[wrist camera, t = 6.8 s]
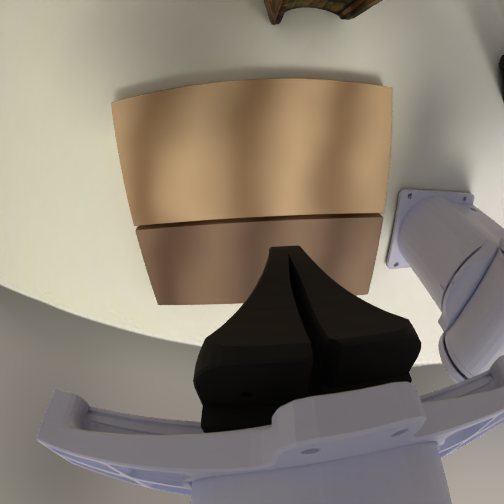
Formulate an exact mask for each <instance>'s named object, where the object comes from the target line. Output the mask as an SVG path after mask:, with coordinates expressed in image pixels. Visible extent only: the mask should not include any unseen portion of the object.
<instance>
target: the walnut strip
mask: <svg viewBox="0 0 504 504" xmlns="http://www.w3.org/2000/svg"><path fill="white" fill-rule="evenodd" d="M382 222H383V217H382V216H381V214H380V213H346V214H311V215H286V216H265V217H246V218H229V219H214V220H200V221H186V222H173V223H161V224H150V225H139V226H138V228H137V229H136V230H135V231H136V234H137V238H138V242H139V245H140V249H141V252H142V256H143V259H144V262H145V266H146V269H147V272H148V275H149V279H150V282H151V285H152V288H153V291H154V294H155V297H156V300H157V303H158V305H200V304H234V303H244V302H245V301H246V300H247V299H248V297H249V296H250V294H251V293H252V291H253V290H254V288H255V286H256V285H257V283H258V281H259V279H260V277H261V275H262V273H263V270H264V268H265V265H266V263H267V259H268V255H269V249H270V248H271V247H278V246H297V245H299V246H300V247H301V248H302V249H303V250H304V251H305V252H306V253H307V254H308V256H309V257H310V258H311V259H312V260H313V261H314V262H315V263H316V264H317V265H318V266H319V267H320V268H321V269H322V270H323V271H324V272H325V273H326V274H327V275H328V276H329V277H331V278H332V279H333V280H334V281H335V282H337V283H338V284H339V285H340V286H342V287H343V288H345V289H346V290H347V291H349V292H350V293H352V294H354V295H364V294H368V291H369V287H370V283H371V279H372V274H373V270H374V265H375V260H376V255H377V250H378V245H379V239H380V234H381V228H382Z"/></svg>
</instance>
